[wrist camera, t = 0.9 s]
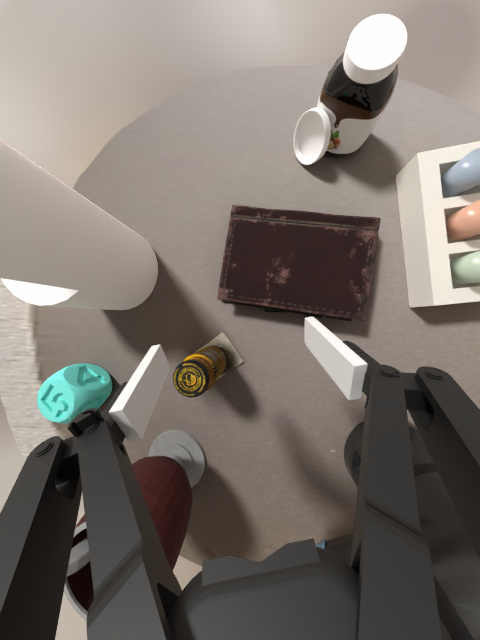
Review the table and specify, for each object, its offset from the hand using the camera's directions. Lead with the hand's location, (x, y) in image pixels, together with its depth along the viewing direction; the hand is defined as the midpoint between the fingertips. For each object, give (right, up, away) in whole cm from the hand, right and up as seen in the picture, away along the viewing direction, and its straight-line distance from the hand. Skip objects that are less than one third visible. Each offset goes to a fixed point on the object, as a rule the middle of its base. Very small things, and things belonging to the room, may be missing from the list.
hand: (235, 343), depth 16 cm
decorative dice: (-32, -12, +24) cm, 41 cm away
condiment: (-4, -6, +20) cm, 22 cm away
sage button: (+36, +10, +12) cm, 39 cm away
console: (+35, +17, +15) cm, 42 cm away
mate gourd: (-14, -27, +21) cm, 37 cm away
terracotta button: (+35, +17, +12) cm, 40 cm away
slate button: (+34, +24, +12) cm, 43 cm away
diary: (+10, +12, +19) cm, 25 cm away
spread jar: (+17, +35, +18) cm, 43 cm away
